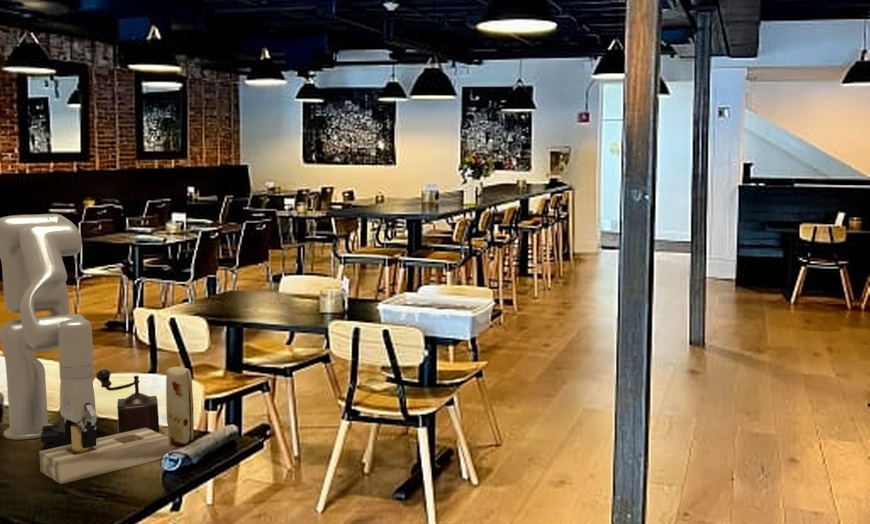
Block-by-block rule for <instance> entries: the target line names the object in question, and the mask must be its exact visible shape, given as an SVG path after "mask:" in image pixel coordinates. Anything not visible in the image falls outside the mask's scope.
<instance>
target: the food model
mask: <svg viewBox="0 0 870 524" xmlns="http://www.w3.org/2000/svg"><path fill="white" fill-rule="evenodd" d="M165 376H166V379H165V380H166V382H165V383H166V384H165V386H166V387H165V392H166V393H165V396H166V398H165V399H166V404H165V405H166V423H167V428H168V435H169V436H168V437H169V439H170V440H171V443H172V444H173V445H177V446H180V445H185V444H188V443H189V441H193V440H194V431H195V426H194V424H195V423H194V422H195V421H194V418H195V417H194V397H193V396H194V393H193V380H192V379H193V378H192V373H191V370H190V369H189V368H186V367H181V366H172V367H169V368H168V369H167V370H166V375H165Z"/></svg>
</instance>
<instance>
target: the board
mask: <svg viewBox="0 0 870 524" xmlns="http://www.w3.org/2000/svg"><path fill="white" fill-rule="evenodd" d="M169 440H170V436H167V435H165V434H162V433H160V432H159V433H157V432H155V431H153V430H150V429H148V428H142V429H138V430H133V431H129V432H124V433H120V434H118V433H116V434H110V435H107V436H104V437H103V436H102V437H98V438H97V437H96V446H93V447H90V452H85V453H81V454H77V455H73V454H72V444H70V445H66V446H61V447H57V448H52V449H48V450H43V451H42V450H40V451H39V453H38V454H39V465H40V467H39V468H40V470H39V471H40V473H42V474H44V475H45V476H47V477H49V478H50V479H52V480H53V481H55V482H57V483H59V484H60V485H63V484H67V483H71V482H75V481H78V480H84V479H88V478H90V477H91V478H92V477H94V476H98V475H99V476H100V475H103V474H106V473H110V472H111V473H112V472H116V471H119V470H122V469H127V468H131V467H135V466H139V465H143V464H147V463H151V462H155V461H159V460H162V459H161V458H162V457H163V456H164V455H165V454H167V453H169V454H170V441H169Z"/></svg>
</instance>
